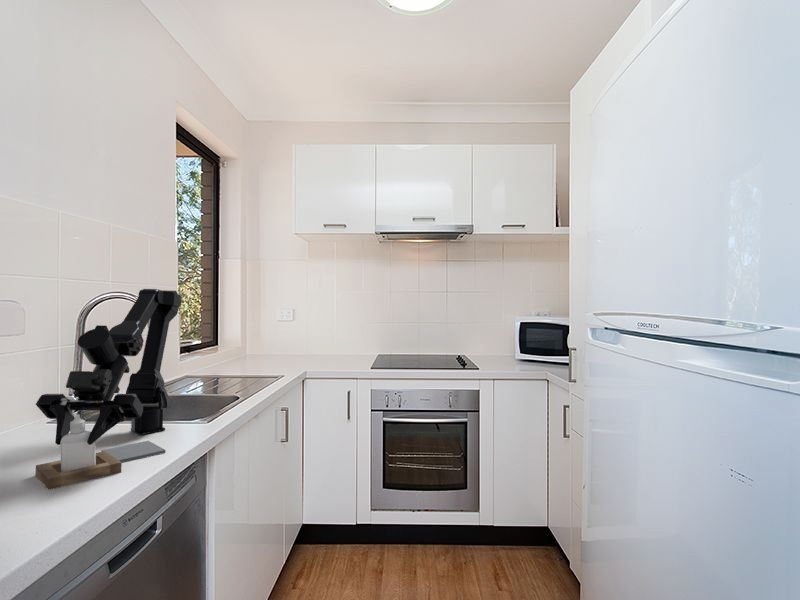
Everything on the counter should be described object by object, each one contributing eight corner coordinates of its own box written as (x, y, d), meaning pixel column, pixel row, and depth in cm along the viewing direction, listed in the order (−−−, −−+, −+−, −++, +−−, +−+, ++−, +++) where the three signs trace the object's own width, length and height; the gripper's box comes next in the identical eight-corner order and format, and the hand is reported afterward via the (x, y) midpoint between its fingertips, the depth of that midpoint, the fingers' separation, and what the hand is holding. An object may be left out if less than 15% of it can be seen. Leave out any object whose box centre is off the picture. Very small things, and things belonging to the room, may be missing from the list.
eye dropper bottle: (85, 478, 89) (83, 419, 88) (56, 477, 89) (54, 417, 88) (100, 468, 93) (98, 411, 92) (72, 467, 93) (71, 410, 92)
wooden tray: (105, 460, 99) (105, 451, 99) (121, 472, 92) (121, 462, 92) (35, 475, 90) (35, 465, 90) (48, 489, 83) (48, 478, 83)
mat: (148, 443, 111) (148, 440, 111) (165, 452, 105) (165, 449, 105) (101, 452, 104) (101, 450, 104) (116, 463, 97) (116, 460, 97)
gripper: (43, 354, 94) (-1, 422, 83) (138, 355, 95) (108, 422, 84) (66, 386, 101) (29, 451, 90) (154, 386, 103) (128, 450, 92)
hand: (73, 443), depth 89 cm, fingers closed on eye dropper bottle, 5 cm apart
